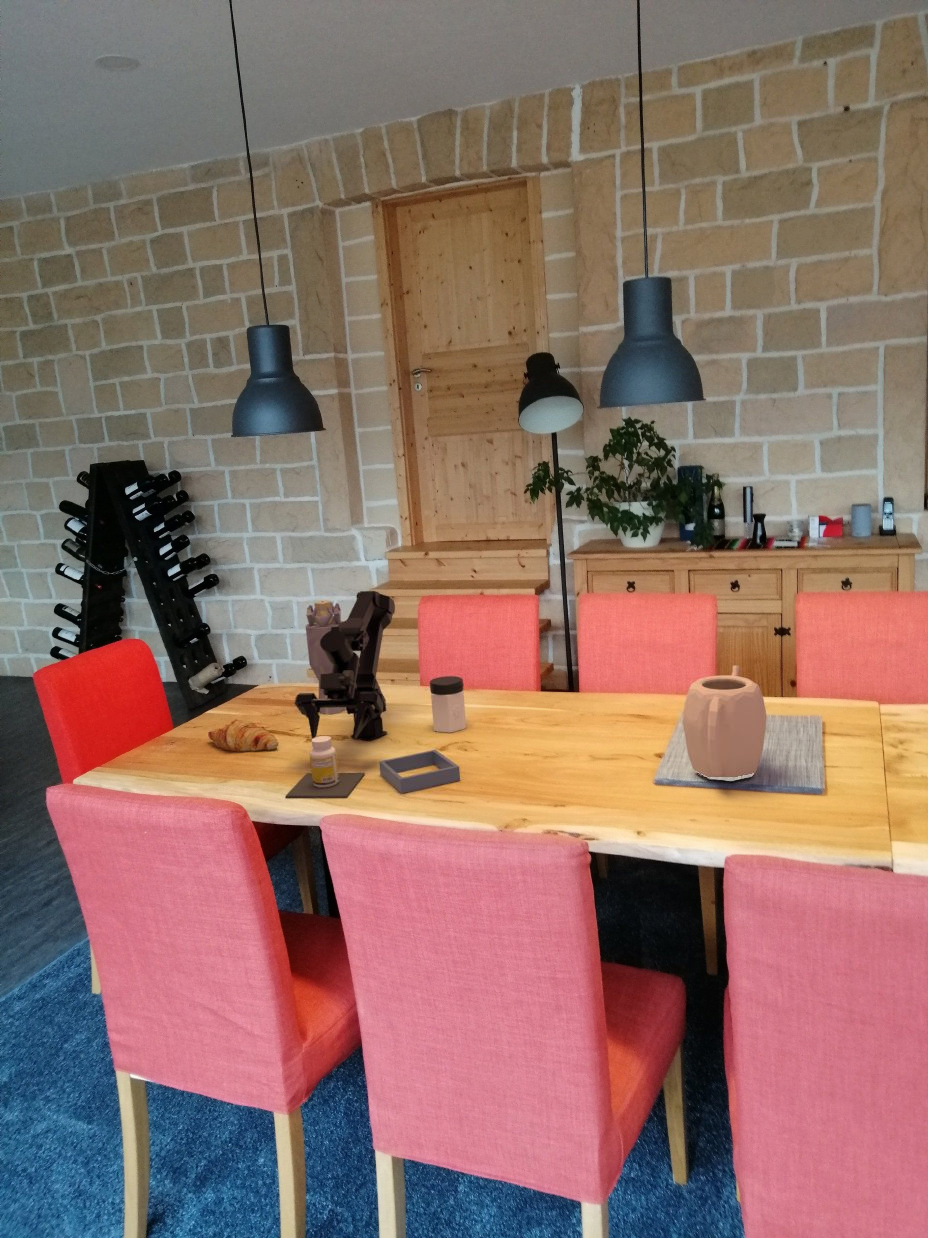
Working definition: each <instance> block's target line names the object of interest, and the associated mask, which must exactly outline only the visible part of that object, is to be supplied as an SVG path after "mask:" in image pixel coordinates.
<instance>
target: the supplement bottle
mask: <svg viewBox="0 0 928 1238" xmlns="http://www.w3.org/2000/svg"><path fill="white" fill-rule="evenodd" d="M311 746H312V749H311V750H310V752H309V759H310V767H311V773H312V777H313V784H314V786H316V787H320V788H325V787H331V786H334V785H336V784H337V783H338V782H339V774H338V773H339V767H338V757H337V751H336V748H335V746H334V747H333V746H332V738H331V737H330V736H329V735H321V736H316V738H313V739H312V738H311Z"/></svg>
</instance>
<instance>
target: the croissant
mask: <svg viewBox="0 0 928 1238" xmlns="http://www.w3.org/2000/svg"><path fill="white" fill-rule="evenodd" d="M207 735H208V738H209V740H210V741H212V742H213V744H214V745H215V746H216V747H218V748H221V749H223V750H226V751H232V752H238V753H240V752H241V753H243V752H256V751H263V750H265V751H270V750H274V749H276V748H277V747H279V741H278V738H276V737H275V735H273V734H272V733H271V732H270V731H269V730H268V729H267V728H266V727H264V726H257V724H255V723H254V722H253V721H248V720H245V719H237V718H236V719H235V720H233V721H231V722H230V723H229V724H225V726H224V725H223V726H222V728H216V729H215V730H211V731H208V733H207Z"/></svg>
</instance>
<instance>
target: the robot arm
mask: <svg viewBox="0 0 928 1238" xmlns="http://www.w3.org/2000/svg"><path fill="white" fill-rule="evenodd" d="M395 612H396V604H395V601H394V599H393V598H392V597H391V596H389V595H385V594H382V593H380V592H378V591H376V590H361V591H360V592H357V593H356V601H355V602H354V605H353V607H352V609H351V610H350V613H349V615H348V616H347V617H348V618H347V619H346V620H343V622H341V623H340V624H339V625H338V626H337V627H331V631H329V632H327V633H326V634H325V635H324V636H323V637H322V638H321V640H320V645H321V648H322V649H323V651H324V653H325V655H326V656H327V658H328V660H329V662H331V663H332V664H333V666H332V672H331V673H329V674H321V675H320V689H324V691H323V693H324V695H327V699H319V698H317V696H316V694H315V692H300V693H298V694H297V695H296V696H295V699H294V705H295V706H296V708H297V709H298V711H299V713H301V715H304V716H305V717H306V718H307V719H308V725H309V730H310V735H311V740H312V739H313V738H316V737H317V734H318V729H319V725H320V718H321V716H320V713H319V712H320V708H328V707H346V714H347V715H353V722H354V723H353V731H352V734H351V735H350V738H352V739H353V740H356V739H359V740H362V741H367V742H369V741H372V740H375V739H378V738H380V737H382V736H384V735H387V734H388V731H386V730H384V726H383V724H384V723H383V718H382V714H383V713H384V712H387V703H386V702H387V701H386V697H385V696H384V694H383V692H382V690H381V686H380V685H379V682H378V680H377V678H376V677H377V671H378V665H379V658H380V653H381V645H382V640H383V634H384V630H385V629H386V628H387V627H388V626H389V625H390V624H391V623H392V619H393V615H394V614H395ZM356 652H360V654H359V656H358V654H357V653H356Z"/></svg>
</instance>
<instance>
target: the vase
mask: <svg viewBox="0 0 928 1238" xmlns="http://www.w3.org/2000/svg"><path fill="white" fill-rule="evenodd" d="M341 612H342V611H341V607H340V604H339V603H338V602H336V603H334V605H333V602H332V601H330V600H321V601H315V602H314V608H313V605H311V604H309V605H308V607H307V608H306V619H307V621H308V622H307V623H308V624H306V625H305V632H306V644H307V653H308V662H309V666H310V667H311V670H312V671H313V674H314V675H315V678H316V679H317V681H318V699H327V695H324V693H323V691H324V689H320V675H321V674H329V673H331V672H332V666H333V664H332V663H331V662H329V660H328V658H327V656H326V655H325V653H324V651H323V649H322V648H321V645H320V640H321V638H322V637H323V636H324V635H325V634H326V633H327V632H329V631H331V627H337V626H338V625H339V624H340V623H341V622H344V620H343V621H342V620H341V619H342V617H341V614H342V613H341ZM345 710H346V707H328V708H320V713H319V714H321V713H322V714H321V715H326V714H329V715H337V714H341V713H343V711H344V712H346V711H347V710H346V711H345ZM340 712H341V713H340ZM336 713H337V714H336Z"/></svg>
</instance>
